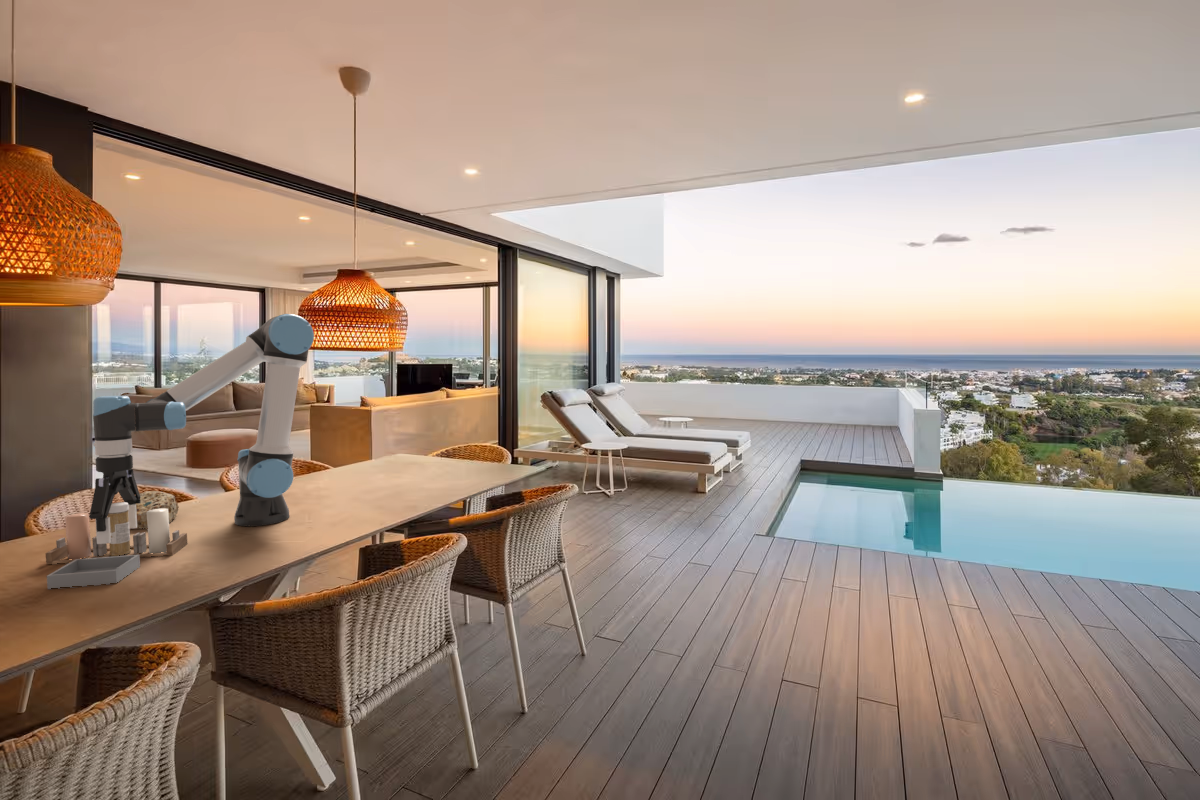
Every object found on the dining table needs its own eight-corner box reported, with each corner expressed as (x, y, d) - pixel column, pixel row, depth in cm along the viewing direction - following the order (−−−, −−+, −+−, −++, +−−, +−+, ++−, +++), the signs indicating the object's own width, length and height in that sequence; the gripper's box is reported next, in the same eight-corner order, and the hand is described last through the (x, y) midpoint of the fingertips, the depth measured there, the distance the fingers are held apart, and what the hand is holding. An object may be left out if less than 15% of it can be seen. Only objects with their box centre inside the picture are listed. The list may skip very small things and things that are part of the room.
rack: (187, 543, 166) (186, 526, 166) (172, 555, 157) (171, 536, 157) (69, 552, 159) (68, 533, 159) (46, 564, 150) (44, 545, 150)
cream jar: (173, 547, 163) (171, 507, 162) (166, 553, 159) (163, 512, 158) (153, 549, 162) (151, 509, 161) (145, 554, 158) (143, 513, 157)
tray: (140, 566, 149) (139, 554, 148) (116, 583, 138) (115, 570, 138) (76, 571, 145) (75, 559, 145) (47, 589, 135) (46, 575, 134)
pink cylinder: (95, 553, 159) (92, 512, 158) (85, 559, 154) (82, 517, 153) (74, 554, 158) (71, 513, 157) (64, 560, 153) (60, 518, 152)
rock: (172, 530, 182) (159, 500, 180) (116, 546, 178) (102, 516, 175) (188, 507, 201) (177, 479, 198) (138, 521, 196) (126, 493, 194)
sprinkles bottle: (107, 554, 158) (104, 504, 157) (129, 549, 161) (125, 500, 160) (111, 558, 155) (108, 506, 154) (133, 553, 158) (130, 503, 157)
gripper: (121, 448, 167) (125, 523, 169) (68, 464, 143) (72, 551, 145) (153, 447, 169) (156, 521, 171) (105, 463, 145) (109, 549, 147)
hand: (117, 535), depth 158 cm, fingers open, 13 cm apart
